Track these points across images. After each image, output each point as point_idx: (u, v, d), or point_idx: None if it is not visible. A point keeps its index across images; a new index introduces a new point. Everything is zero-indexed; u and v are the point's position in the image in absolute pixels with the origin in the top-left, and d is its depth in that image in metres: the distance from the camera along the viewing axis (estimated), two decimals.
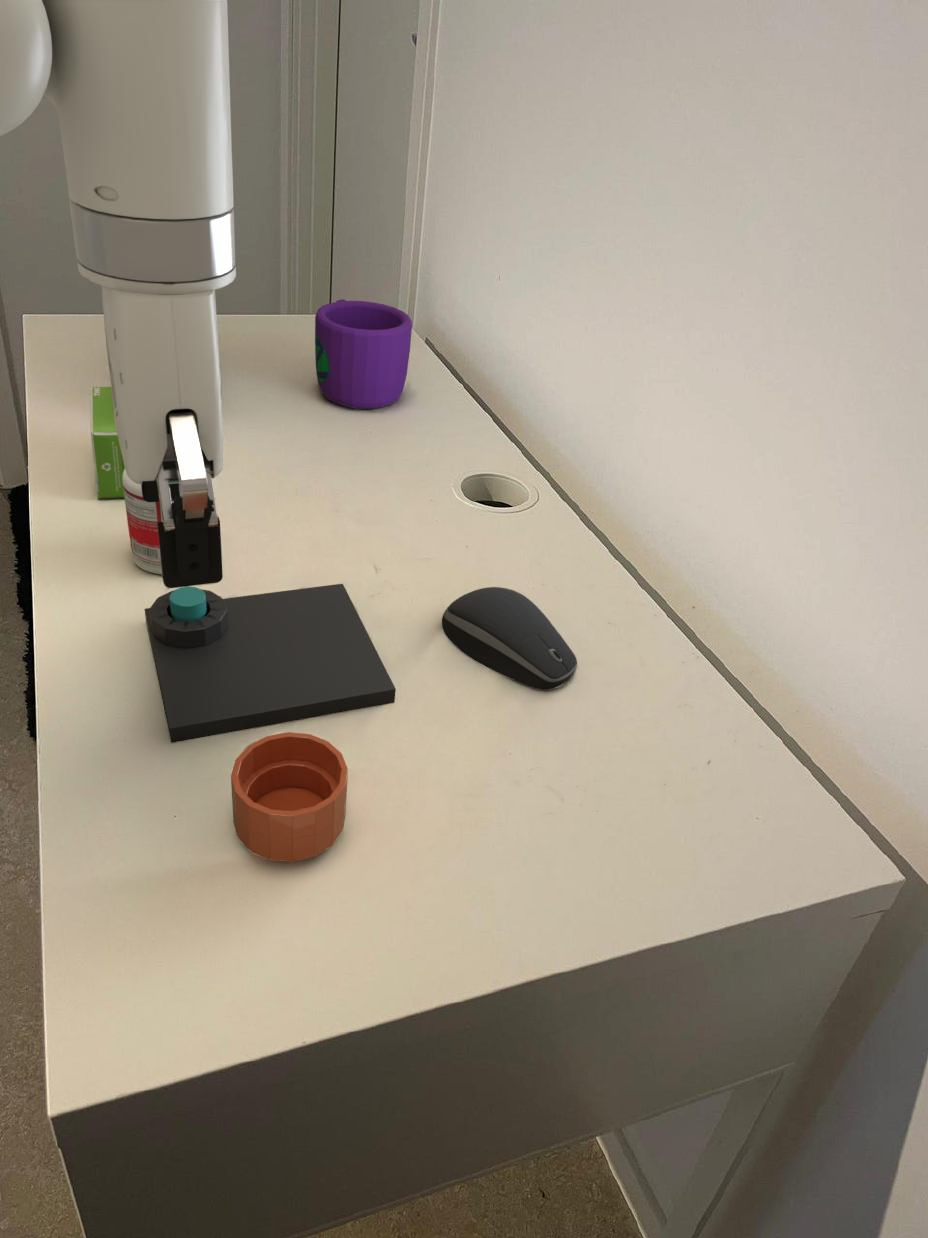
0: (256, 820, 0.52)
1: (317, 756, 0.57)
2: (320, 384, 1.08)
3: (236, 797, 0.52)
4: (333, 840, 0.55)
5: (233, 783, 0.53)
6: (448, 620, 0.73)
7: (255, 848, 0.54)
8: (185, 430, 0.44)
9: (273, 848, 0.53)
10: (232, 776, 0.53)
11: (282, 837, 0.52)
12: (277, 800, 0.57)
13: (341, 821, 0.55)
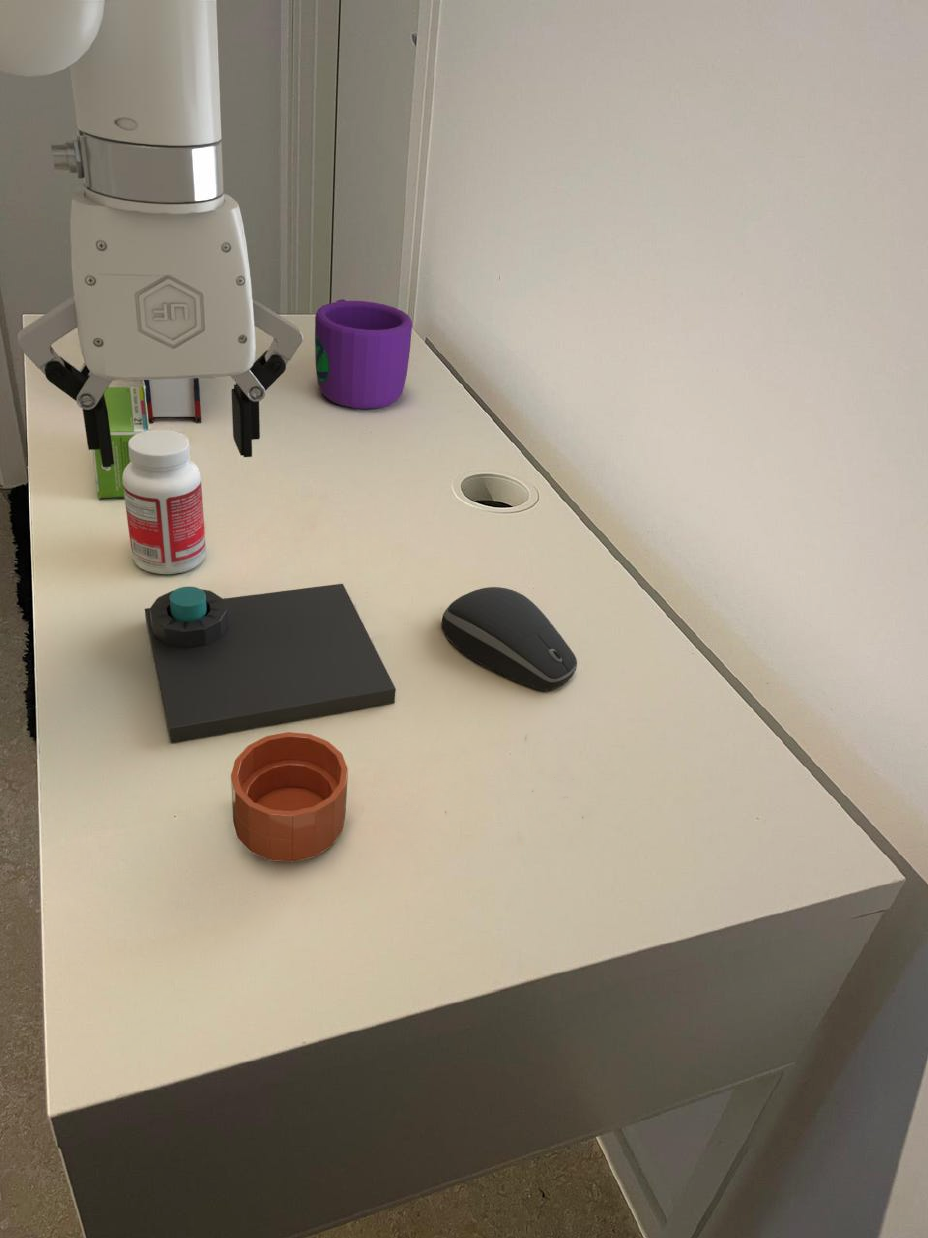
0: (256, 820, 0.52)
1: (317, 756, 0.57)
2: (320, 384, 1.08)
3: (236, 797, 0.52)
4: (333, 840, 0.55)
5: (233, 783, 0.53)
6: (448, 620, 0.73)
7: (255, 848, 0.54)
8: (260, 304, 0.57)
9: (273, 848, 0.53)
10: (232, 776, 0.53)
11: (282, 837, 0.52)
12: (277, 800, 0.57)
13: (341, 821, 0.55)
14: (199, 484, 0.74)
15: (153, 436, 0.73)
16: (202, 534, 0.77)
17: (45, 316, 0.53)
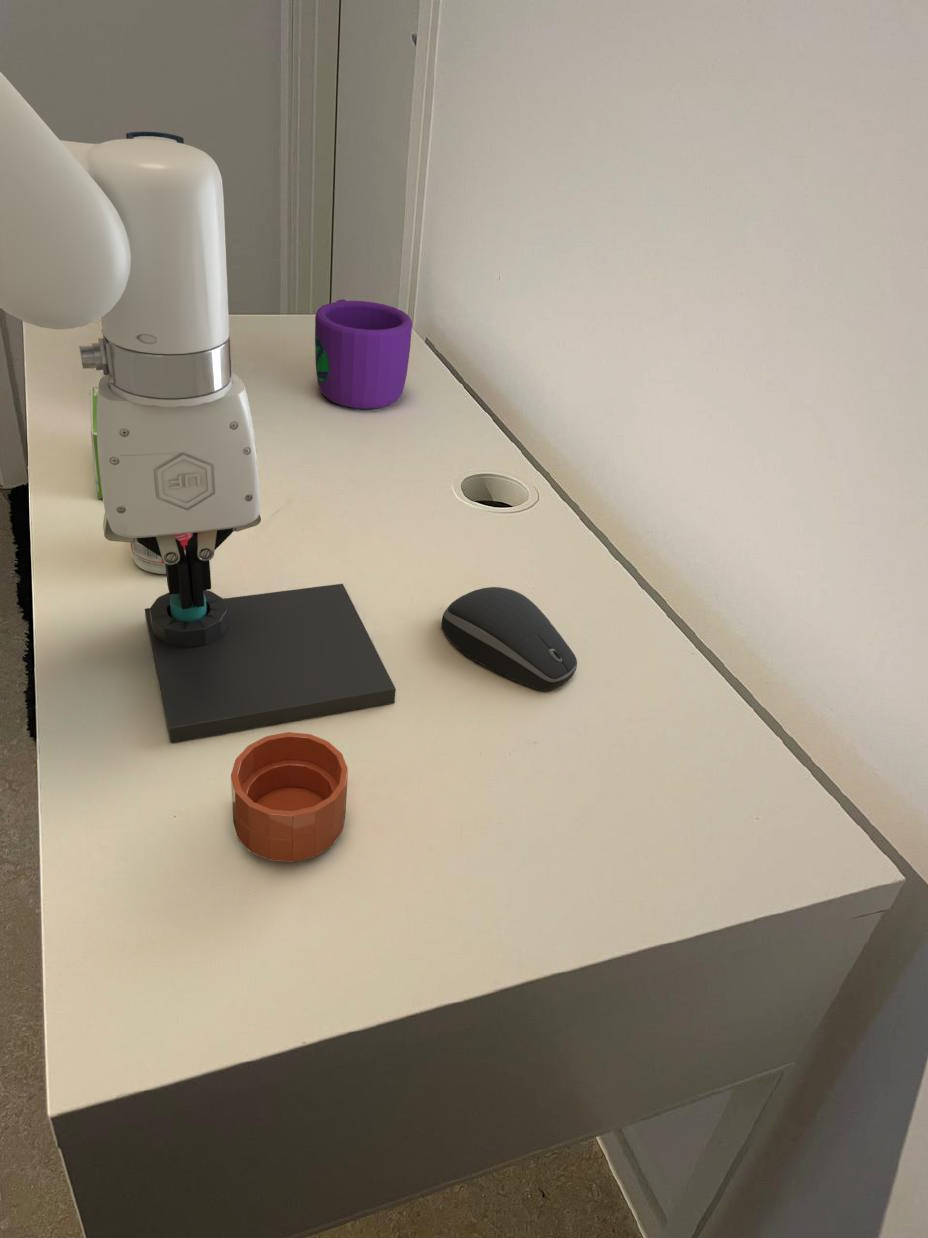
0: (256, 820, 0.52)
1: (317, 756, 0.57)
2: (320, 384, 1.08)
3: (236, 797, 0.52)
4: (333, 840, 0.55)
5: (233, 783, 0.53)
6: (448, 620, 0.73)
7: (255, 848, 0.54)
8: None
9: (273, 848, 0.53)
10: (232, 776, 0.53)
11: (282, 837, 0.52)
12: (277, 800, 0.57)
13: (341, 821, 0.55)
14: None
15: None
16: None
17: None
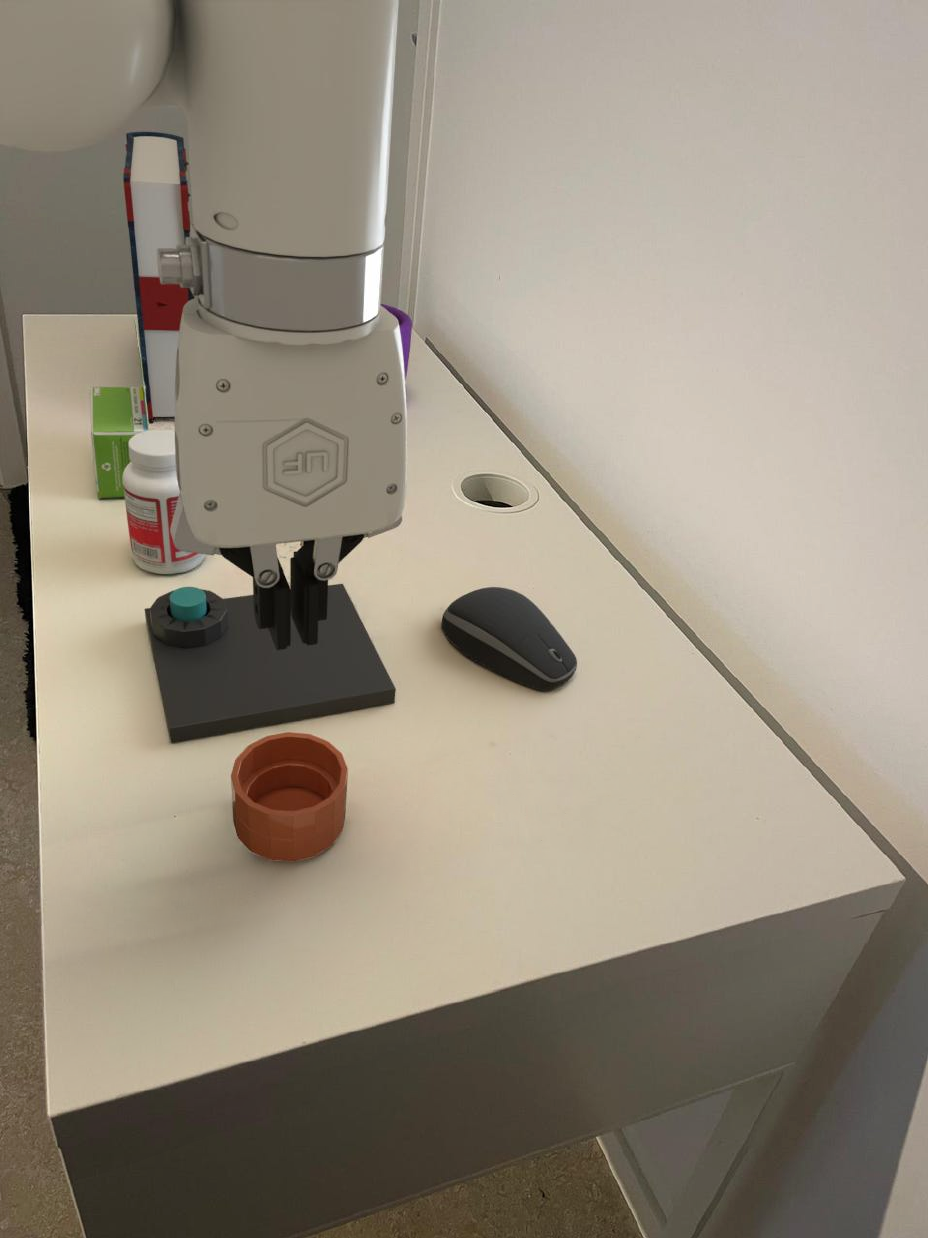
0: (256, 820, 0.52)
1: (317, 756, 0.57)
2: None
3: (236, 797, 0.52)
4: (333, 840, 0.55)
5: (233, 783, 0.53)
6: (448, 620, 0.73)
7: (255, 848, 0.54)
8: None
9: (273, 848, 0.53)
10: (232, 776, 0.53)
11: (282, 837, 0.52)
12: (277, 800, 0.57)
13: (341, 821, 0.55)
14: None
15: (153, 436, 0.73)
16: None
17: (180, 500, 0.41)
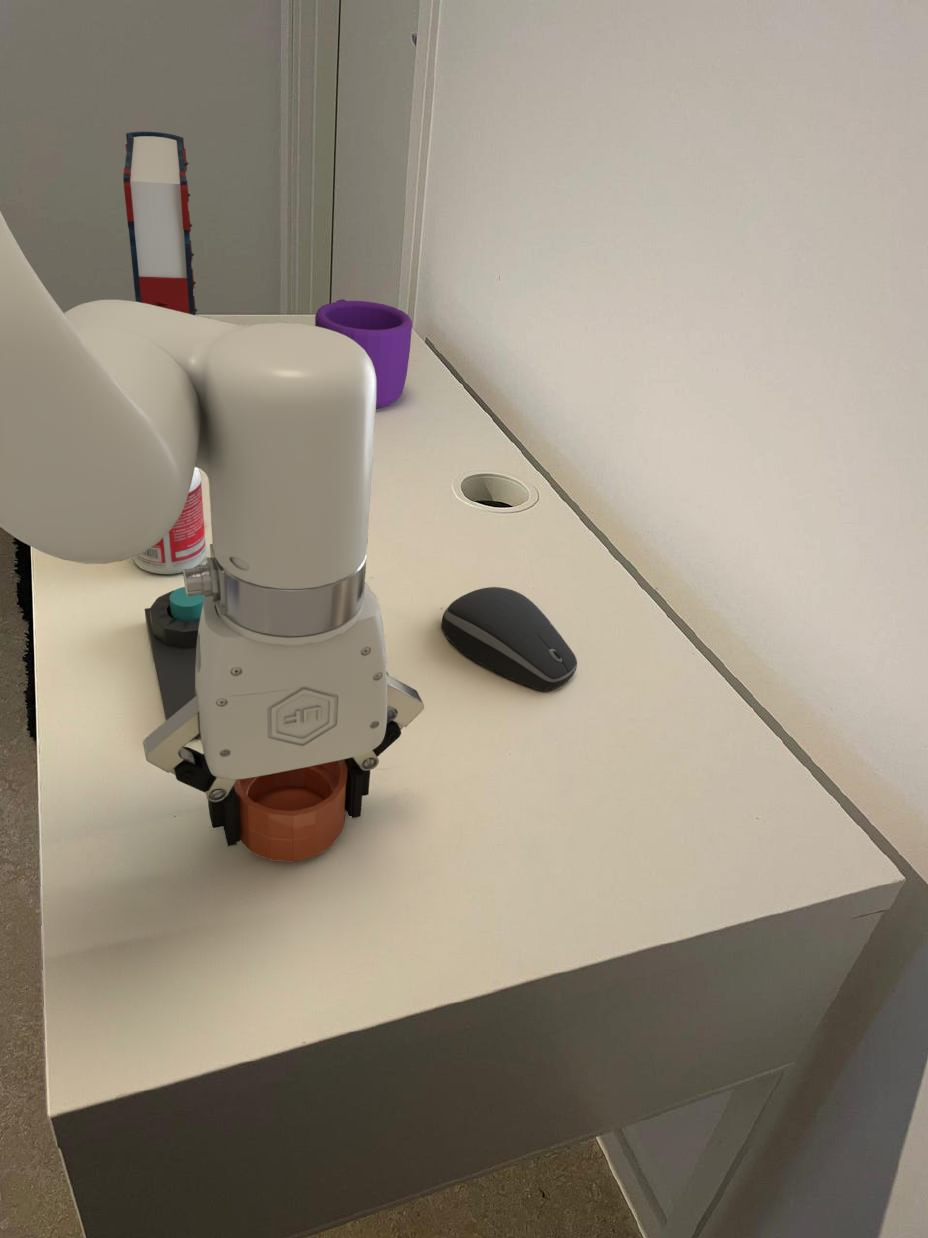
0: (256, 820, 0.52)
1: None
2: None
3: None
4: (333, 840, 0.55)
5: None
6: (448, 620, 0.73)
7: (255, 848, 0.54)
8: None
9: (273, 848, 0.53)
10: None
11: (282, 837, 0.52)
12: (277, 800, 0.57)
13: (341, 821, 0.55)
14: (199, 484, 0.74)
15: None
16: (202, 534, 0.77)
17: (170, 723, 0.49)
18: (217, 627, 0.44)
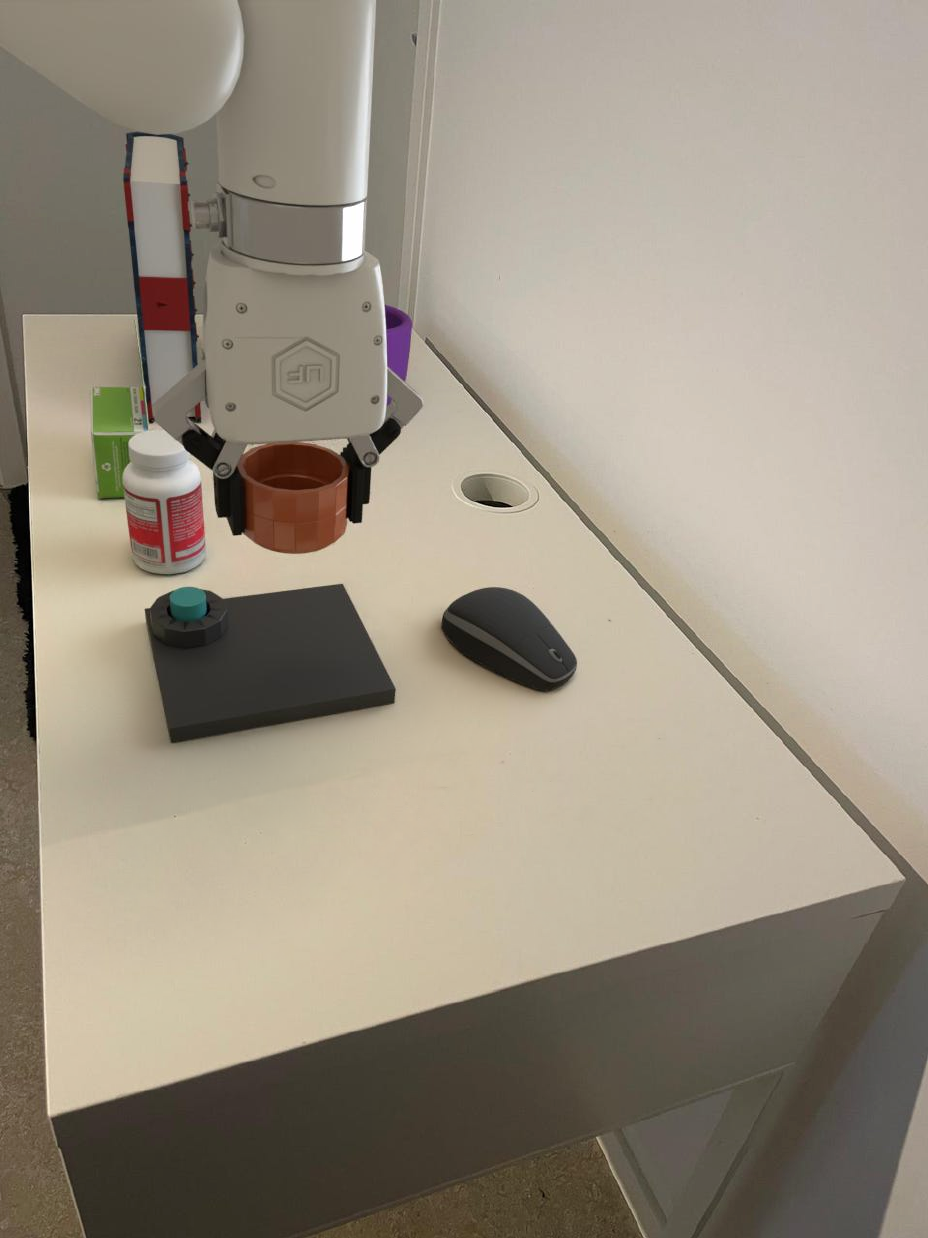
0: (261, 501, 0.54)
1: (320, 466, 0.59)
2: None
3: None
4: (335, 537, 0.57)
5: None
6: (448, 620, 0.73)
7: (260, 537, 0.55)
8: (386, 366, 0.54)
9: (277, 534, 0.55)
10: (237, 465, 0.55)
11: (286, 519, 0.54)
12: None
13: (343, 520, 0.57)
14: (199, 484, 0.74)
15: (153, 436, 0.73)
16: (202, 534, 0.77)
17: (177, 386, 0.50)
18: (223, 261, 0.46)
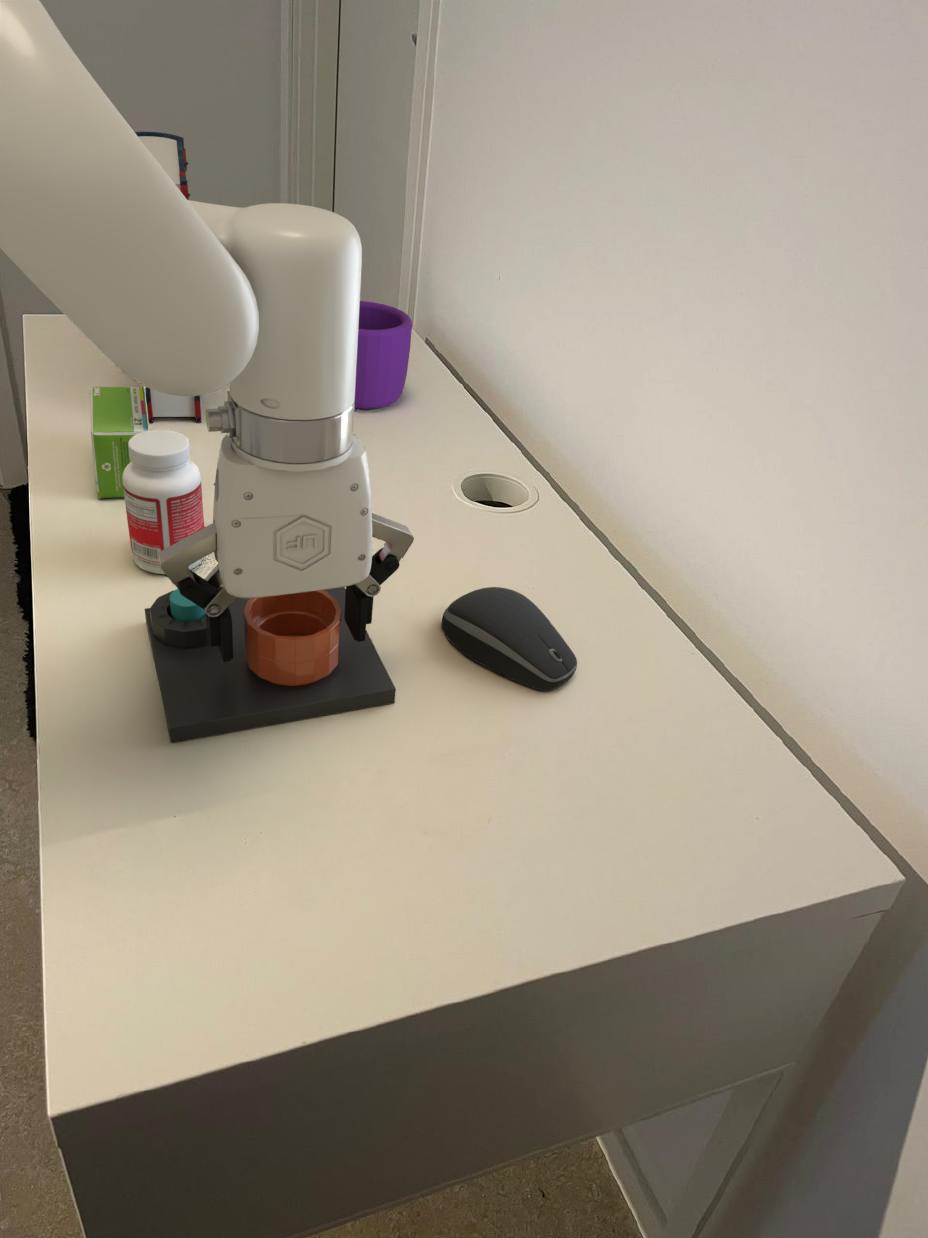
0: (265, 645, 0.63)
1: (316, 604, 0.68)
2: None
3: (248, 628, 0.63)
4: (329, 670, 0.66)
5: (245, 617, 0.63)
6: (448, 620, 0.73)
7: (264, 673, 0.64)
8: (375, 516, 0.63)
9: (279, 671, 0.64)
10: (245, 612, 0.64)
11: (286, 661, 0.63)
12: None
13: (336, 655, 0.66)
14: (199, 484, 0.74)
15: (153, 436, 0.73)
16: None
17: (186, 541, 0.58)
18: (233, 458, 0.54)
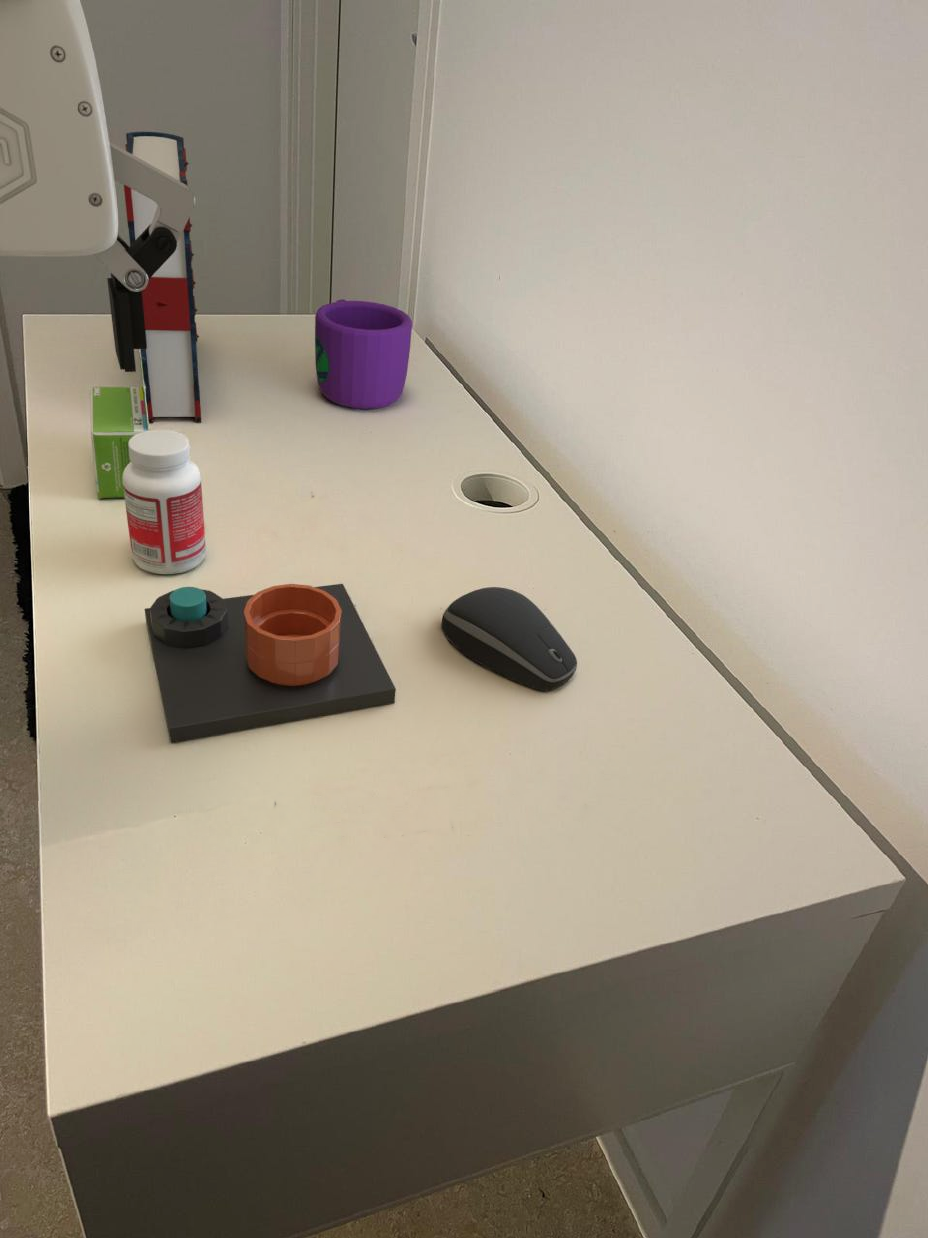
0: (265, 645, 0.63)
1: (316, 604, 0.68)
2: (320, 384, 1.08)
3: (248, 628, 0.63)
4: (329, 670, 0.66)
5: (245, 617, 0.63)
6: (448, 620, 0.73)
7: (264, 673, 0.64)
8: (127, 153, 0.41)
9: (279, 671, 0.64)
10: (245, 612, 0.64)
11: (286, 661, 0.63)
12: None
13: (336, 655, 0.66)
14: (199, 484, 0.74)
15: (153, 436, 0.73)
16: (202, 534, 0.77)
17: None
18: None
